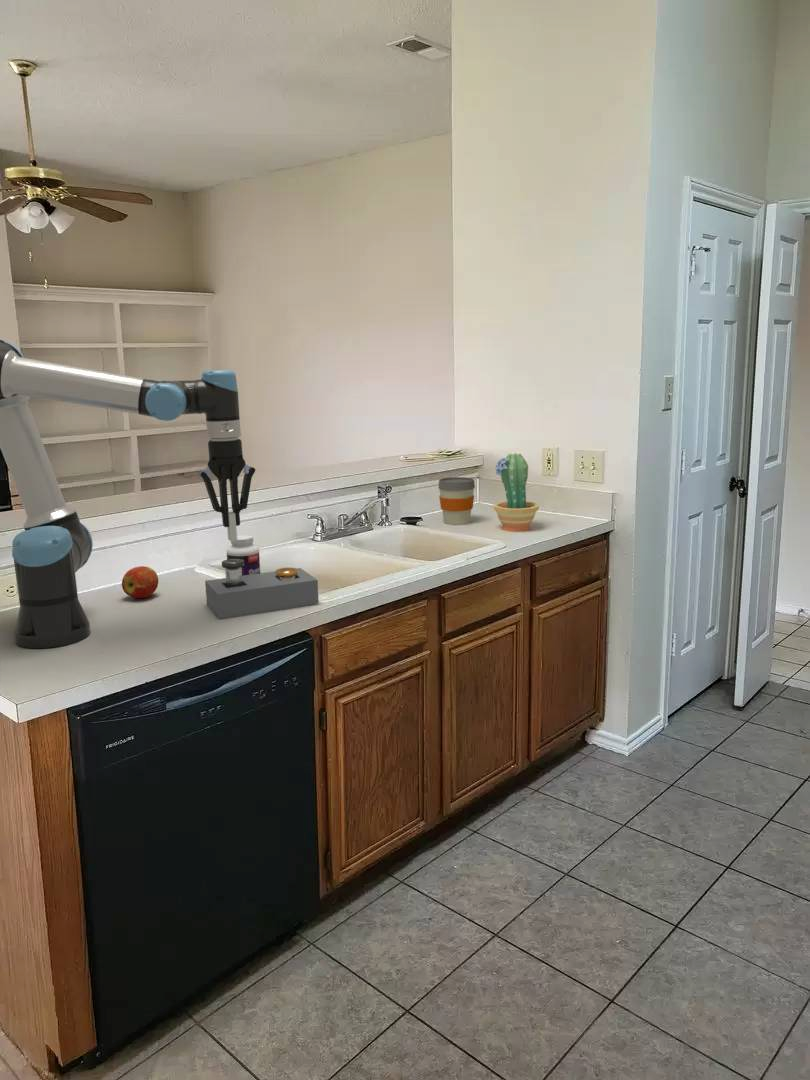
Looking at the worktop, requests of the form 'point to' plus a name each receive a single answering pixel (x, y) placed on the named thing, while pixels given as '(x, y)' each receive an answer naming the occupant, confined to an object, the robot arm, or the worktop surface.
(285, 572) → the orange capped vial
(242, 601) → the grey vial holder
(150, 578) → the apple
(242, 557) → the pill bottle
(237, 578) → the knob left
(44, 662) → the worktop surface
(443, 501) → the reusable coffee cup
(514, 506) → the potted cactus
